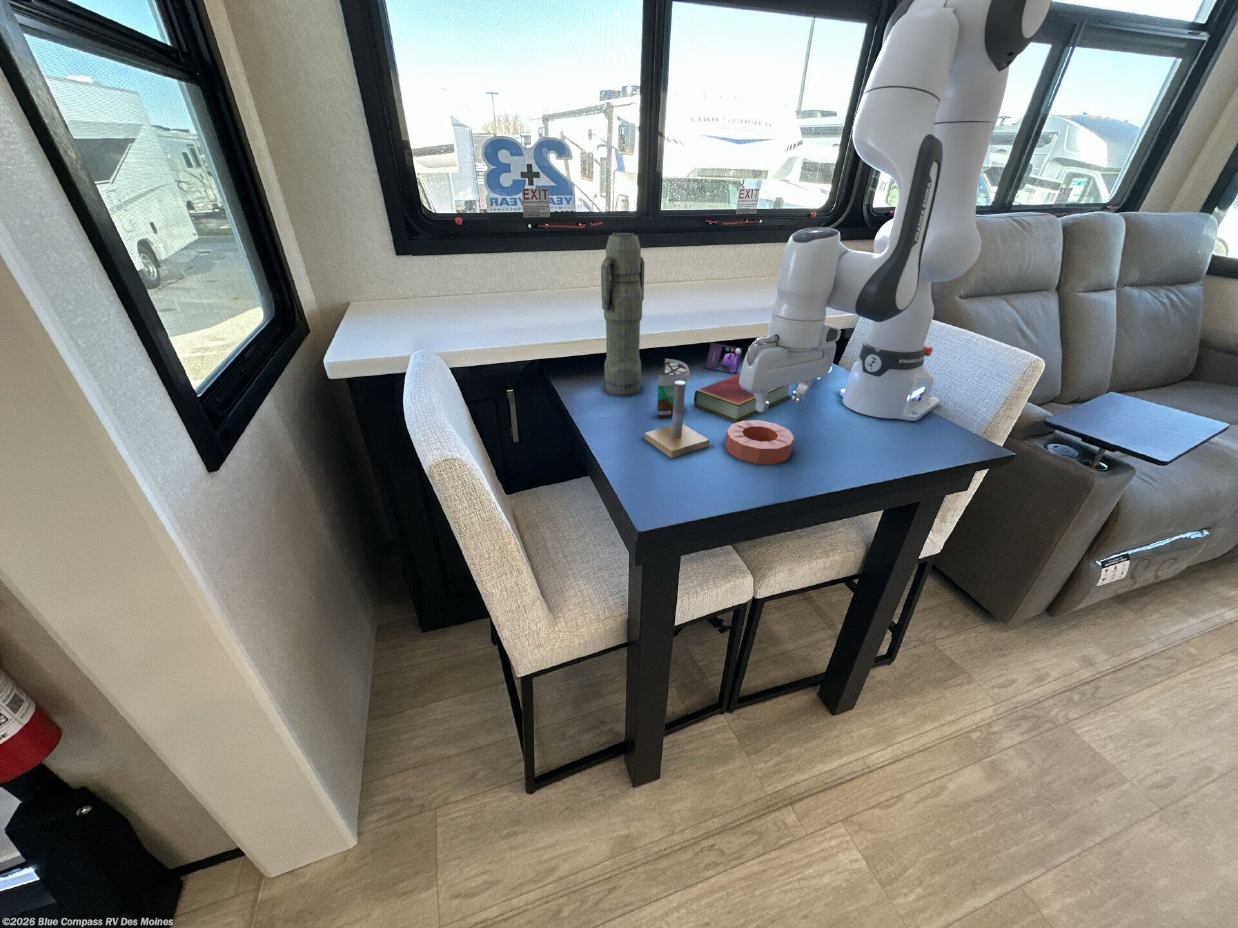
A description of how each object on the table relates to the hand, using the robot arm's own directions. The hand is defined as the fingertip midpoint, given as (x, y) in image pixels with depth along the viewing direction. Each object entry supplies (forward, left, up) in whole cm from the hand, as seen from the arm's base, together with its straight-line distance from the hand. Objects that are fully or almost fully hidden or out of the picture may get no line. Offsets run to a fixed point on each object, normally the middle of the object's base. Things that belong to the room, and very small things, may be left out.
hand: (779, 405), depth 91 cm
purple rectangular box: (-22, -39, -8) cm, 46 cm away
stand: (+16, -10, -8) cm, 21 cm away
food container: (+7, -23, -8) cm, 25 cm away
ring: (+4, 0, -8) cm, 9 cm away
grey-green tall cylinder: (+10, -40, -8) cm, 42 cm away
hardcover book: (-10, -19, -8) cm, 23 cm away
